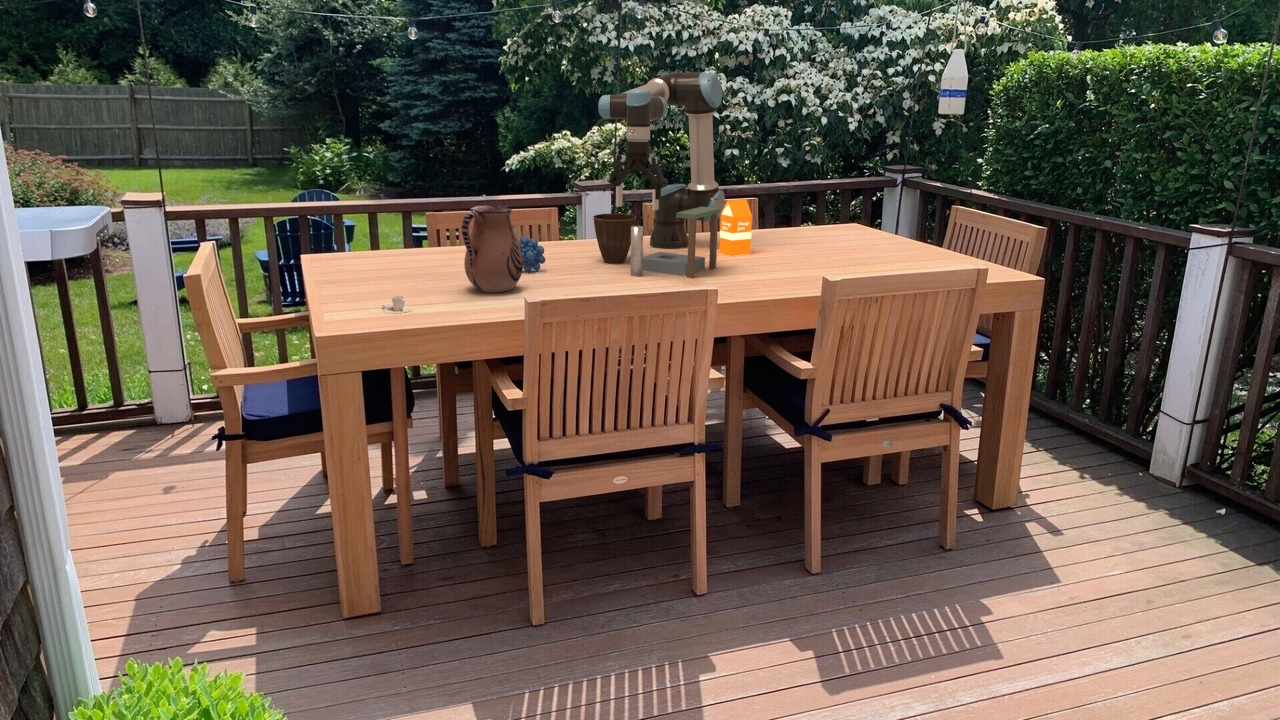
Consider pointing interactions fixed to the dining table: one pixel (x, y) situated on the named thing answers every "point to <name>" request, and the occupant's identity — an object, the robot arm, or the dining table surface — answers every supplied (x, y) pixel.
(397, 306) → the teacup and saucer
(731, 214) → the orange juice
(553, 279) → the dining table surface
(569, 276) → the dining table surface
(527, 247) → the grapes
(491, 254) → the ceramic pitcher
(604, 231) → the plant pot
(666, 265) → the socket block
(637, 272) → the steel peg
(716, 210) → the awning
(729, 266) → the dining table surface
